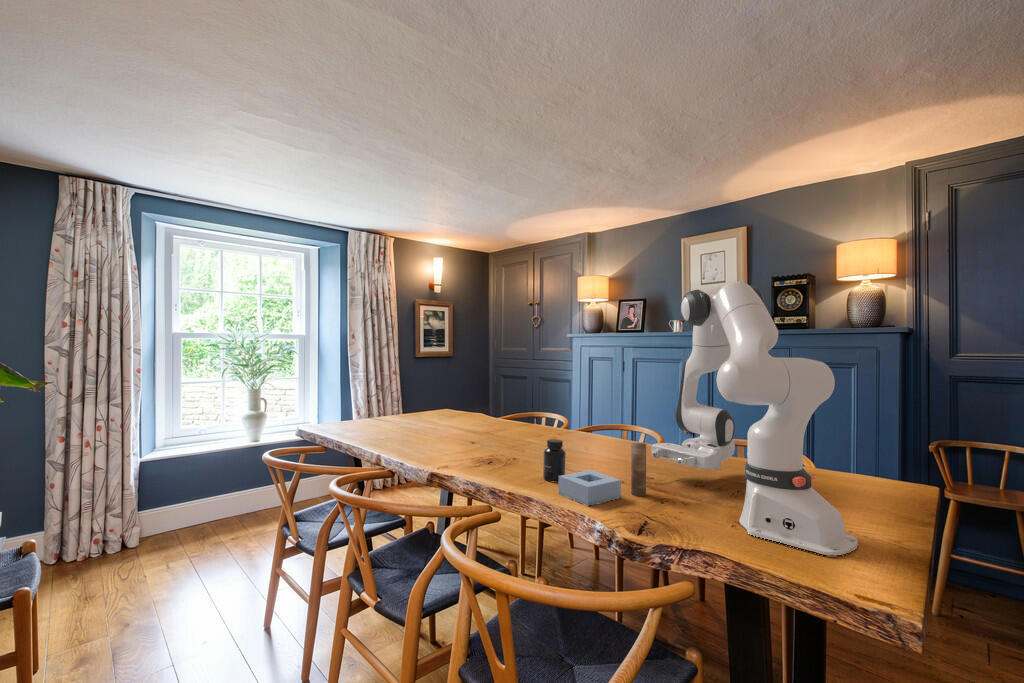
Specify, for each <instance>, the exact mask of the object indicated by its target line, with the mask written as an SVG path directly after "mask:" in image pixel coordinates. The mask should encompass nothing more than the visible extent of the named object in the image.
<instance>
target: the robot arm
mask: <svg viewBox="0 0 1024 683" xmlns="http://www.w3.org/2000/svg"><path fill="white" fill-rule="evenodd" d="M680 311H681V316H682V317H683V320H684V321H685V322H686V324H688V325H689V326H692V327H693V328H692V350H691V353H690V355H689V356H688V357H687V358H685V361H684V362H683V365H682V369H681V370H682V371H681V376H680V377H681V378H680V385H679V387H680V388H679V394H678V400H677V405H676V408H675V412H674V420H675V422H676V425H677V427H678V428H679V429H680V431H683V432H688V433H694V434H697V435H699V436H697V437H693V438H687V439H685V440H683V441H682V444H681V445H680V444H676V443H672V442H671V443H670V442H659V443H658V442H657V443H652V444H651V457H652V458H653V459H654V458H655V459H660V458H662V459H664V460H669V461H672V462H675V463H678V465H681V466H689V467H690V468H692V469H693V468H700V469H703V470H720V469H722V462H725V461H726V460H729V459H730V458H731V457H732V456H733V455H734V453H735V450H736V445H735V444H736V443H735V441H734V436H735V430H736V428H735V427H736V426H735V424H736V423H735V421H734V418H733V416H732V415H731V413H730V412H729V411H728V410H726V409H724V408H723V409H722V408H719V407H714V406H710V405H705V404H700V403H699V402H698V401H697V394H698V386H699V380H700V378H701V376H702V375H705V374H708V373H712V372H715V371H717V374H716V387H717V389H718V392H719V393H720V395H721V396H722V397H723V399H725V400H726V401H728V402H730V403H735V404H741V405H747V406H768V409H767V412H766V413H765V414H764V416H763V417H762V418H761V419H759V420H758V421H756V422H754V423H752V425H750V427H749V429H748V431H747V434H746V435H747V436H746V437H747V443H746V444H747V446H746V447H747V448H746V450H747V451H746V452H747V456H746V458H747V460H746V462H745V463H744V464H745V465H744V468H745V469H744V477H745V478H744V479H745V480H744V481H745V484H746V488H745V495H744V504H743V507H742V512H741V514H740V518H739V521H738V522H739V524H740V525H741V526H742V527H744V529H745V530H746V533H747V532H748V533H747V534H748V535H749V534H750V535H749V536H751V535H753V536H752V537H755V536H756V538H758V537H760V538H759V539H762V538H764V539H763V540H765V539H768V540H767V541H769V540H772V541H771V542H773V541H776V542H780V543H784V544H787V545H791V546H795V547H798V548H803V549H806V550H810V551H814V552H817V553H821V554H826V555H839V554H844V553H848V552H850V551H852V550H854V549H856V548H857V546H858V547H859V541H858V539H857V537H856V536H854V535H850V534H849V533H846V530H845V523H844V518H843V516H842V513H841V512H840V511H839V510H838V508H836V507H835V506H834V505H832V504H831V503H830V502H829V501H828V500H826V499H825V498H824V497H823V496H822V495H821V494H819V492H817V491H816V490H815V489H814V488H813V487H812V480H815V479H816V478H815V476H816V474H815V473H812V474H809V473H808V472H807V471H806V470H805V468H804V467H803V456H804V454H803V452H804V438H805V432H806V428H807V426H808V424H809V421H810V420H811V418H812V415H813V414H814V413H815V411H816V410H817V408H819V406H820V405H822V404H823V403H824V402H826V401H827V400H828V399H830V397H831V396H832V394H833V392H834V390H835V384H836V383H835V382H836V380H835V376H834V373H833V371H832V369H831V368H830V367H829V366H828V364H826V363H825V362H823V361H819V360H816V359H810V358H806V357H775V356H772V355H771V354H770V353H769V351H770V350H771V349H773V348H774V347H775V345H776V344H777V342H778V340H779V330H778V328H777V326H776V324H775V322H774V320H773V318H772V316H771V314H770V312H769V310H768V309H767V306H766V305H765V300H764V296H763V293H762V292H761V290H760V289H759V288H758V287H756V286H753V285H749V284H748V283H746V282H743V281H733V282H729V283H726V284H725V285H723V286H713V287H708V288H702V289H693V290H690V291H688V292H686V293H685V294H684V296H683V297H682V299H681V306H680ZM776 542H775V543H776ZM780 543H779V544H780ZM787 545H786V546H787ZM791 546H790V547H791ZM798 548H797V549H798ZM857 549H858V548H857ZM857 549H856V550H857Z"/></svg>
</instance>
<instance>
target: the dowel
mask: <svg viewBox="0 0 1024 683" xmlns="http://www.w3.org/2000/svg"><path fill="white" fill-rule="evenodd" d="M630 445H631V446H630V447H631V452H630V453H631V454H630V455H631V457H630V458H631V460H630V461H631V465H630V466H631V473H630V476H631V477H630V478H631V480H630V481H631V482H630V487H631V488H630V490H631V491H630V492H631V495H632V496H635V497H646V495H647V443H644V442H632V443H631V444H630Z"/></svg>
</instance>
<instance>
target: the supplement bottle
mask: <svg viewBox="0 0 1024 683" xmlns="http://www.w3.org/2000/svg"><path fill="white" fill-rule="evenodd" d="M563 446H564V445H563V440H561V439H559V438H558V439H556V438H552V439H551V438H550V439H547V441H546V447H547V448H545V449H544V451H543V462H542V463H543V464H542V466H543V471H542V473H543V474H542V475H543V476H542V478H543V479H544V480H545V481H547V482H550V481H559V476H561V475H566V458H567V456H566V454H567V453H566V451H565V449H563Z"/></svg>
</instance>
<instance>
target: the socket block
mask: <svg viewBox="0 0 1024 683" xmlns="http://www.w3.org/2000/svg"><path fill="white" fill-rule="evenodd" d="M560 494H561V496H562V495H563V496H562V497H565V496H566V497H565V498H567V497H568V498H567V499H569V498H570V499H569V500H572V499H573V500H572V501H574V500H575V501H574V502H576V501H577V502H576V503H578V502H580V503H579V504H581V503H582V505H583V504H585V505H587V506H586V507H590V506H589V505H592V506H595V505H594V504H596V505H599V504H598V503H600V504H602V503H601V502H604V503H607V502H606V501H609V502H611V501H610V500H613V501H616V500H615V499H617V500H619V498H621V499H622V479H619V478H616V477H614V476H610V475H607V474H604V473H601V472H598V471H595V470H592V469H589V470H583V471H578V472H574V473H573V472H572V473H568V474H566V473H565V475H561V476H559V482H558V495H560ZM585 505H584V506H585Z"/></svg>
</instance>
